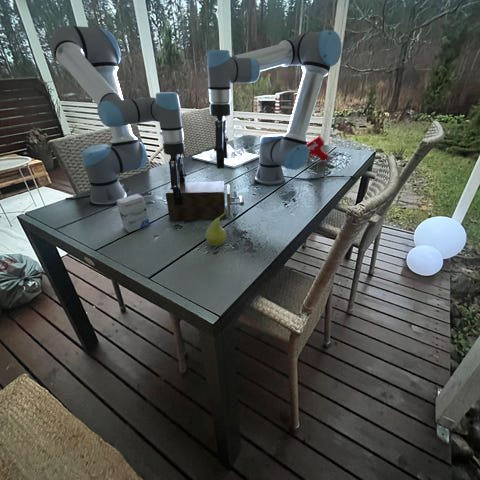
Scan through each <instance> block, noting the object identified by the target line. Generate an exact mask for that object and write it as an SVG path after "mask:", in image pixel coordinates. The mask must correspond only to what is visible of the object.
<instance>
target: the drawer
mask: <svg viewBox="0 0 480 480" xmlns="http://www.w3.org/2000/svg"><path fill="white" fill-rule="evenodd" d="M230 185H231V184H230V183H227V184H226V214H227V218H229V217H231V206H232V205H233V206H234V205H240V207H243V206H245V200H244V195H242V194H241V195H239V196H231V186H230ZM231 200H239V201H238V202H231Z"/></svg>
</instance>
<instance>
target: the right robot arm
mask: <svg viewBox="0 0 480 480" xmlns="http://www.w3.org/2000/svg"><path fill="white" fill-rule="evenodd" d="M341 55H342V41H341V37H340V35H339V34H338V32H336V30H335V31H334V30H332V29H331V30H328V29H324V30H319V31H311V32H303V33H301V34H298V35H295V36H292V37H290V38H287V39H284V40H281V41H280V42H279V43H278V44H275V45H272V46H268V47H264V48H260V49H256V50H251V51H247V52H244V53H240V54H236V55H232V56H231V53H230V51H229V50H228V49H226V50H225V49H210V50H209V51H208V52H207V55H206V69H207V80H208V81H207V82H208V92H207V96H208V97H209V102H210V104H209V114H210V116H213V117H216V119H215V121H214V127H215V129H214V130H215V147H214V148H213V150H214V151H216V157H217V164H216V169H225V166H224V158H227V145H228V142H229V137H228V135H227V124H228V123H227V121H228V120H227V117H228V116H231V114H232V105H231V102H232V93H231V92H232V91H231V85H232V84H251V83H256V82H257V81H258V80H259V78H260V75H261V72H264V71H267V70H270V69H274V68H277V67H283V68H287V67H291V66H294V67H295V66H299V67H301V70H302V77H301V81H300V84H299V88H298V91H297V95H296V99H295V103H294V106H293V110H292V112H291V113H292V114H291V116H290V120H289V124H288V128H287V131H286V133H284V134H279V133H278V134H277V133H276V134H266V135H262V136H260V139H259V143H258V145H259V153H258V155H259V158H258V167H257V171H256V174H255V177H254V181H255V183H258V184H259V185H262V186H263V185H264V186H279V185H281V184H283V183H284V181H285V178H286V179H287V178H288V179H294V180H300V181H301V180H302V181H312V180H313V181H314V180H319V179H324V178H346V177H347V176H344V175H324V176H318V177H311V178H305V177H304V178H303V177H294V176H289V175H287V176H286V175H284V172H283V171H284V170H283V167H284V168H286V169H290V170H293V171H296V170H299V169H301V168H302V167H303V166H305V164H306V163H307V161H308V160H309V157H310V156H309V148H308V147H307V146H306V145H307V143H309V141H308V139H307V137H306V136H307V132H308V130H309V128H310V124H311V120H312V117H313V114H314V110H315V107H316V104H317V100H318V97H319V95H320V90H321V87H322V83H323V81H324V77H326V76H328V75H329V73H330V70H331V67H334V66H335V65H336V64H337V63H338V62H339V61H340V58H341ZM348 177H349V178H351V179H354V176H352V175H351V176H348Z"/></svg>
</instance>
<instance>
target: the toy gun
mask: <svg viewBox="0 0 480 480" xmlns="http://www.w3.org/2000/svg"><path fill="white" fill-rule="evenodd" d="M324 145H325V141H324V139H323V138H322V137H321V135H318V136H316V137H315V138H313V139H311V140H310V141H308V142H307V145H306V146H307V147H308V148H309V157H310V158H314V157H318V158H319V159H320V160H321V163H324V161H322V160H325V159H326V161H327V160H328V158H329V154H328V152H326V151H325V150H323V148H322V147H324Z"/></svg>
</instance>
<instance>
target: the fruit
mask: <svg viewBox="0 0 480 480" xmlns="http://www.w3.org/2000/svg"><path fill="white" fill-rule="evenodd" d="M226 214H227V210H225V213H224V214H223V215H225V216H226ZM223 215H221V216H220V217H219V218H216V219H215V220H212V222H211V224H210V226H209V227H208V228H207V229H206V231H205V234H204V235H205V240H206V242H207V243H208V245H209V246H211V247H216V248H217V247H220V246H222V245H224V243H225V241H226V239H227V232H226V230H225V229H224V228H223V227H222V226H221V222H220V221H221V220H220V218H221V217H222V216H223Z"/></svg>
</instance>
